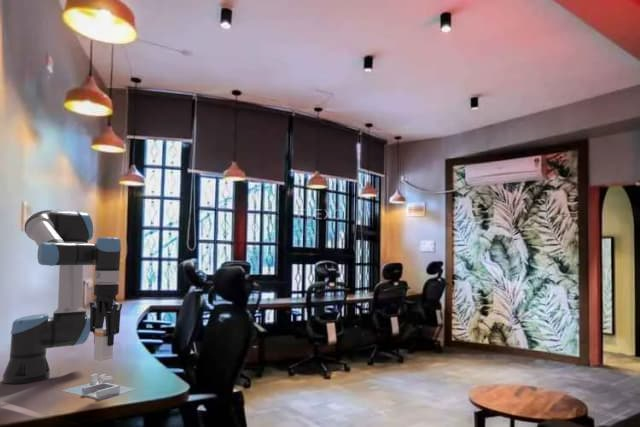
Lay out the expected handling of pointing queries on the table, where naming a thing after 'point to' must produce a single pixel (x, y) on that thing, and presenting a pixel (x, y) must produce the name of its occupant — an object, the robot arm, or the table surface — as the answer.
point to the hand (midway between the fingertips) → (103, 354)
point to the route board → (78, 389)
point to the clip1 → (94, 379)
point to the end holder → (100, 390)
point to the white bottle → (100, 345)
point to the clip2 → (107, 380)
